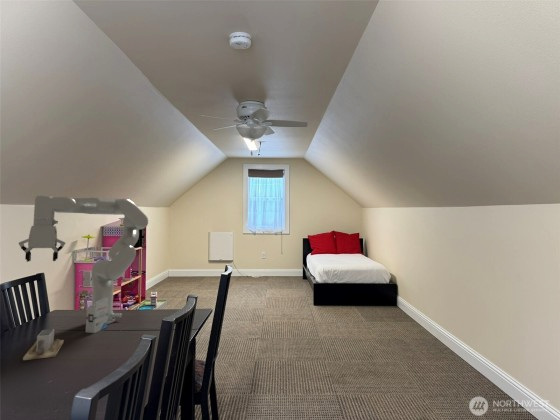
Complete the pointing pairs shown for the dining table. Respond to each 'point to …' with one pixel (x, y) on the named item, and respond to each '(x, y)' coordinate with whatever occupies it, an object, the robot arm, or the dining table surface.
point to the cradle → (40, 352)
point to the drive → (46, 339)
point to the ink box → (97, 316)
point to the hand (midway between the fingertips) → (41, 261)
